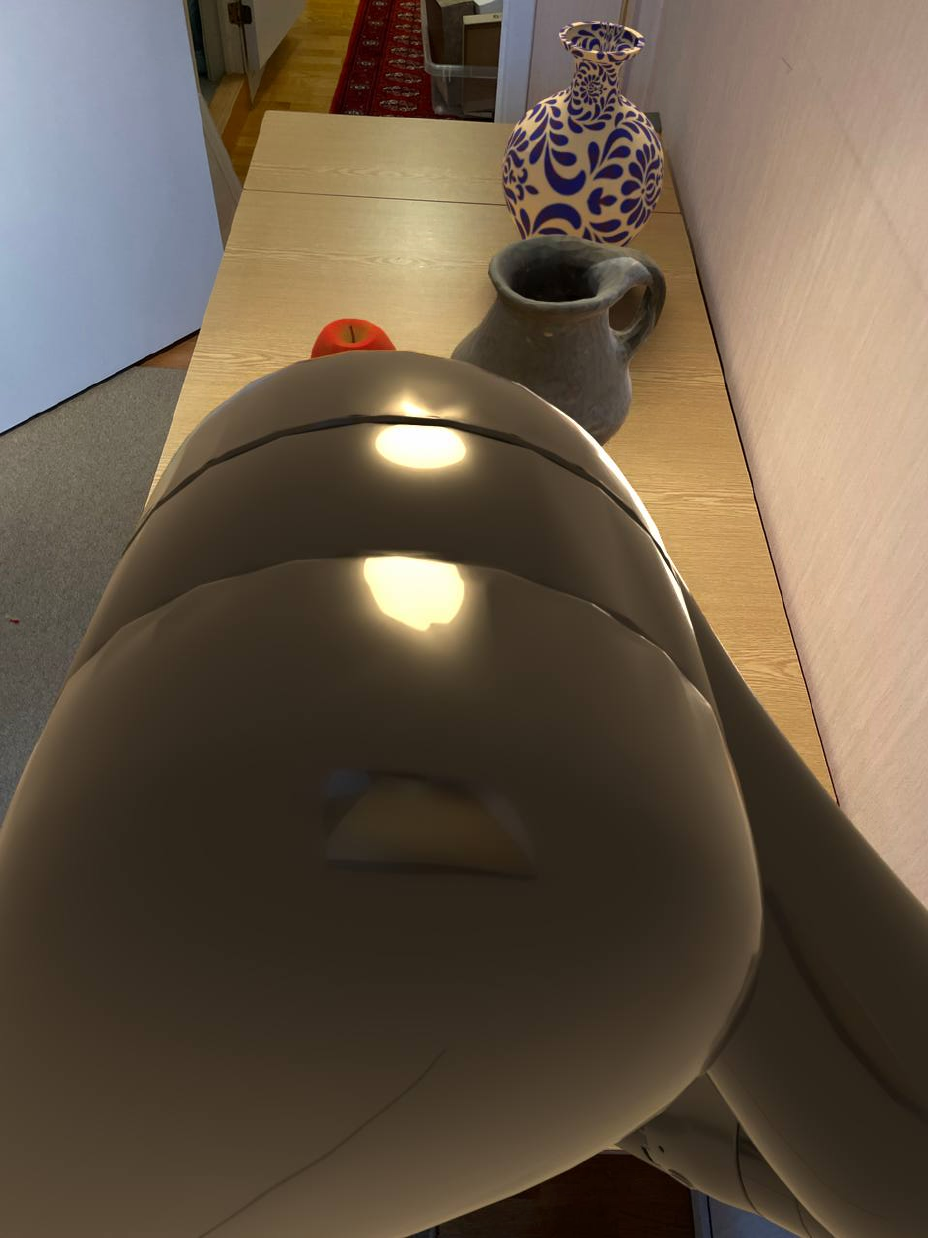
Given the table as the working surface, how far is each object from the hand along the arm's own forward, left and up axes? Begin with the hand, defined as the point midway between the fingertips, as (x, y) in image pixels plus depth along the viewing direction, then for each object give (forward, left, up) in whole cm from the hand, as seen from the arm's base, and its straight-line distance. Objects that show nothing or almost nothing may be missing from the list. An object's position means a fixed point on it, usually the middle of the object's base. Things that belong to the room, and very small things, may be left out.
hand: (494, 1001), depth 57 cm
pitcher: (+67, -18, -17) cm, 71 cm away
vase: (+107, -31, -17) cm, 112 cm away
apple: (+78, +2, -17) cm, 79 cm away
